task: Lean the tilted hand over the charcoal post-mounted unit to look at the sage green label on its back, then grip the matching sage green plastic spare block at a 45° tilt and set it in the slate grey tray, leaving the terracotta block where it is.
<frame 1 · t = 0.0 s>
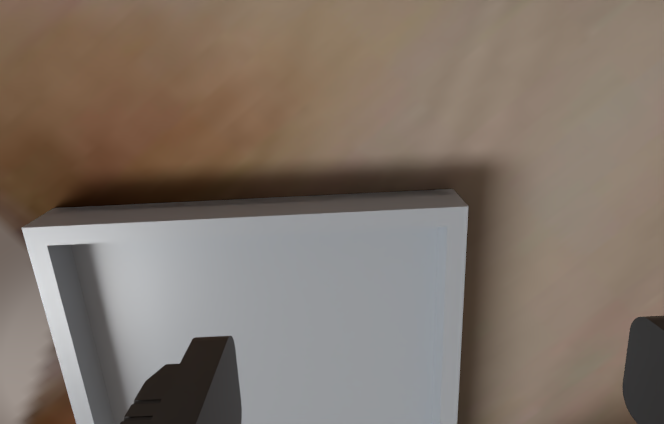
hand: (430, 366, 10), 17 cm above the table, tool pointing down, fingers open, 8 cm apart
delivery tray: (270, 365, 30), on the table
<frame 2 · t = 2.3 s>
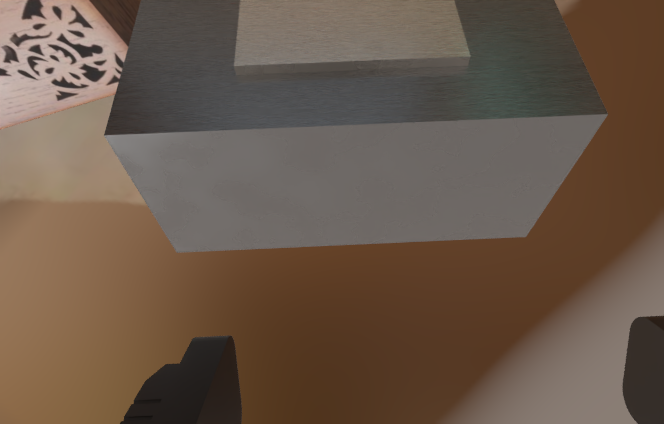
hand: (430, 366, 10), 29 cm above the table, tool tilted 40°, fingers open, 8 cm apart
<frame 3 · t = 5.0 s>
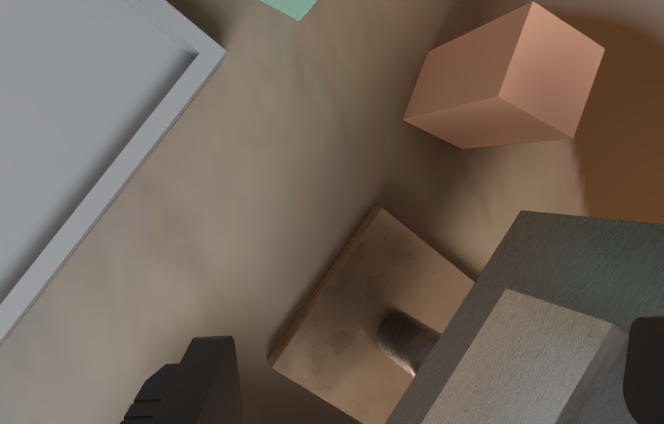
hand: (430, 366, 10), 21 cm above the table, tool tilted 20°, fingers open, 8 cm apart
mounted unit: (387, 327, 33), on the table
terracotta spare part: (445, 101, 33), on the table
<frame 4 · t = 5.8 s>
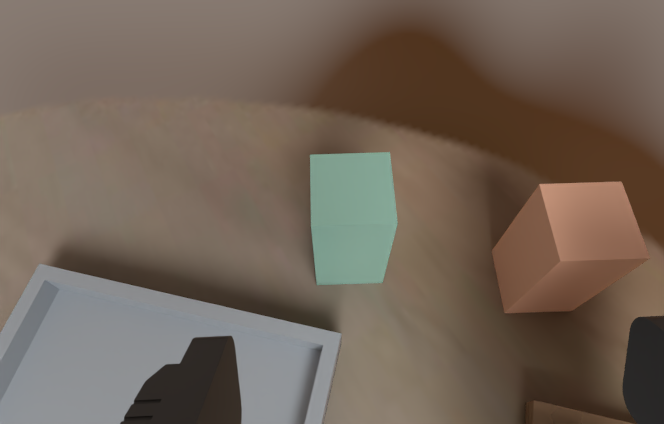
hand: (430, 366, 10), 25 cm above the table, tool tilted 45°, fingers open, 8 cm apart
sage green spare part: (348, 253, 38), on the table
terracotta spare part: (530, 279, 37), on the table
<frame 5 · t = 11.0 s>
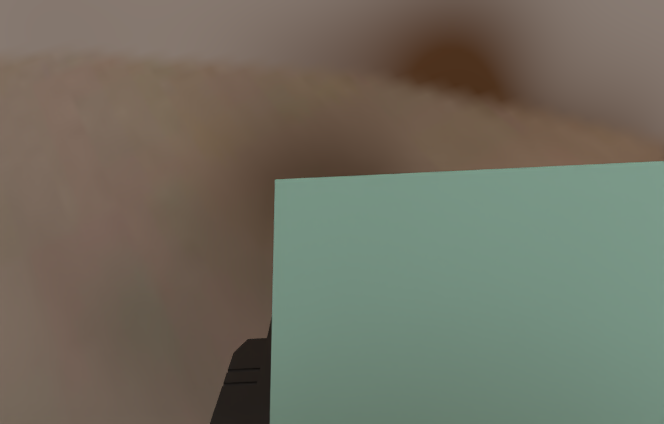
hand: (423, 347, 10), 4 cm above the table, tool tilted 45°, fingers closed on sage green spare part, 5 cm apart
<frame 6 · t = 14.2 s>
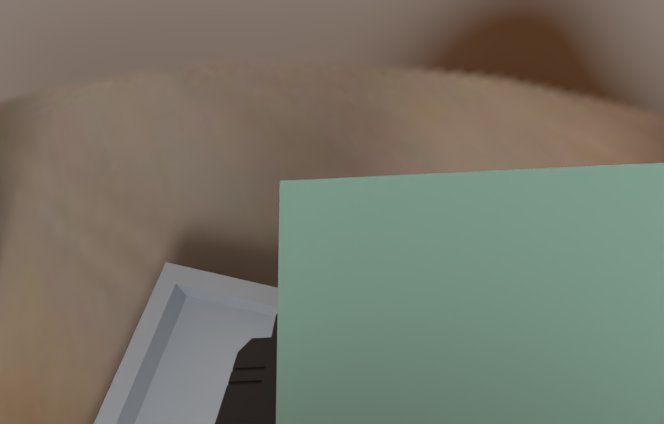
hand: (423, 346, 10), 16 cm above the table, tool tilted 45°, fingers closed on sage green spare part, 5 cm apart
when the fingers open (6 cm above the table, at t = 17.0 s): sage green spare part stays where it is, resting on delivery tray.
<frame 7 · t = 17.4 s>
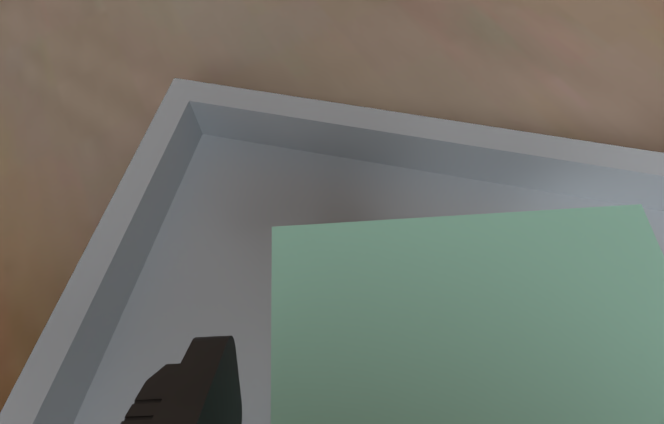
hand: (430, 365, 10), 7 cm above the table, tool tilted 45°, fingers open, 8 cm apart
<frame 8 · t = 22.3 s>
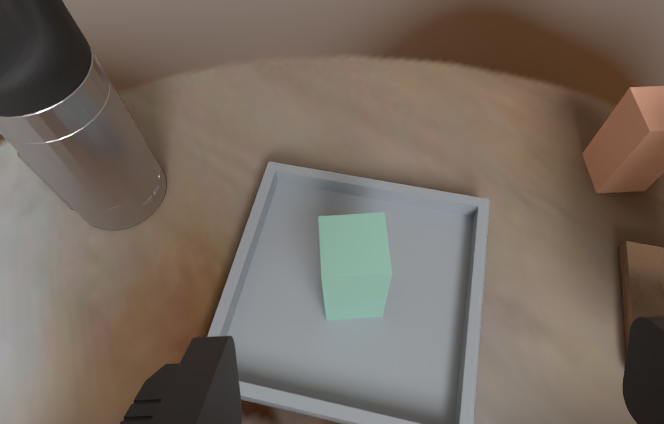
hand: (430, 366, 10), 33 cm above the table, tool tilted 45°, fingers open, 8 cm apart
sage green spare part: (352, 291, 44), point 1 cm above the table, touching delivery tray
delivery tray: (353, 294, 45), on the table
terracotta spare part: (612, 172, 51), on the table
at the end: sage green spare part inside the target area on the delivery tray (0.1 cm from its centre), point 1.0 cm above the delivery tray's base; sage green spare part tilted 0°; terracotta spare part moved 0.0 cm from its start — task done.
